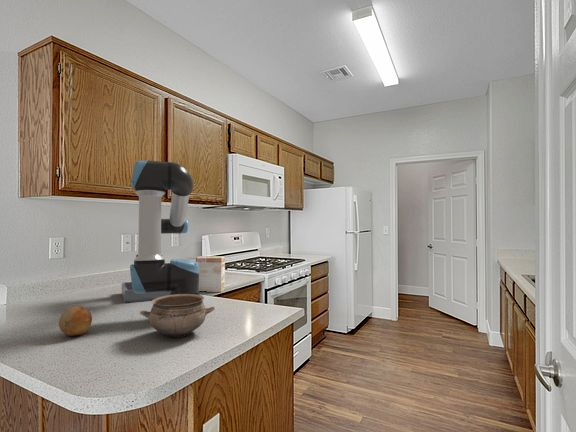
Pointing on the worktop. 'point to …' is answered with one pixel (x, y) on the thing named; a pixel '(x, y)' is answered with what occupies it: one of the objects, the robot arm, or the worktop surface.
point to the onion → (75, 321)
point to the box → (131, 296)
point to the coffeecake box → (211, 273)
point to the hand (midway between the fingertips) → (148, 286)
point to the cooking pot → (177, 314)
